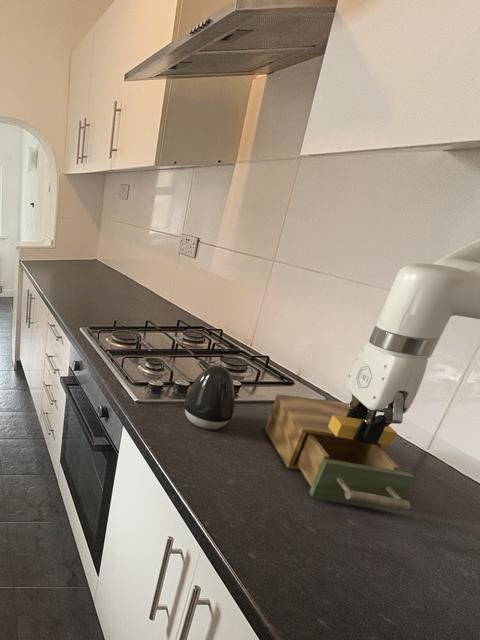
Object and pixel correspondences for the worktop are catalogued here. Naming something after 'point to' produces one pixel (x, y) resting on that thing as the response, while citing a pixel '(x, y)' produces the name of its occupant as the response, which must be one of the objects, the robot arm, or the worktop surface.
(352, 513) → the worktop surface
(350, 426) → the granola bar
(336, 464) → the drawer
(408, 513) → the worktop surface
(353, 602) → the worktop surface
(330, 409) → the cabinet
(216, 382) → the dark grey egg ornament
